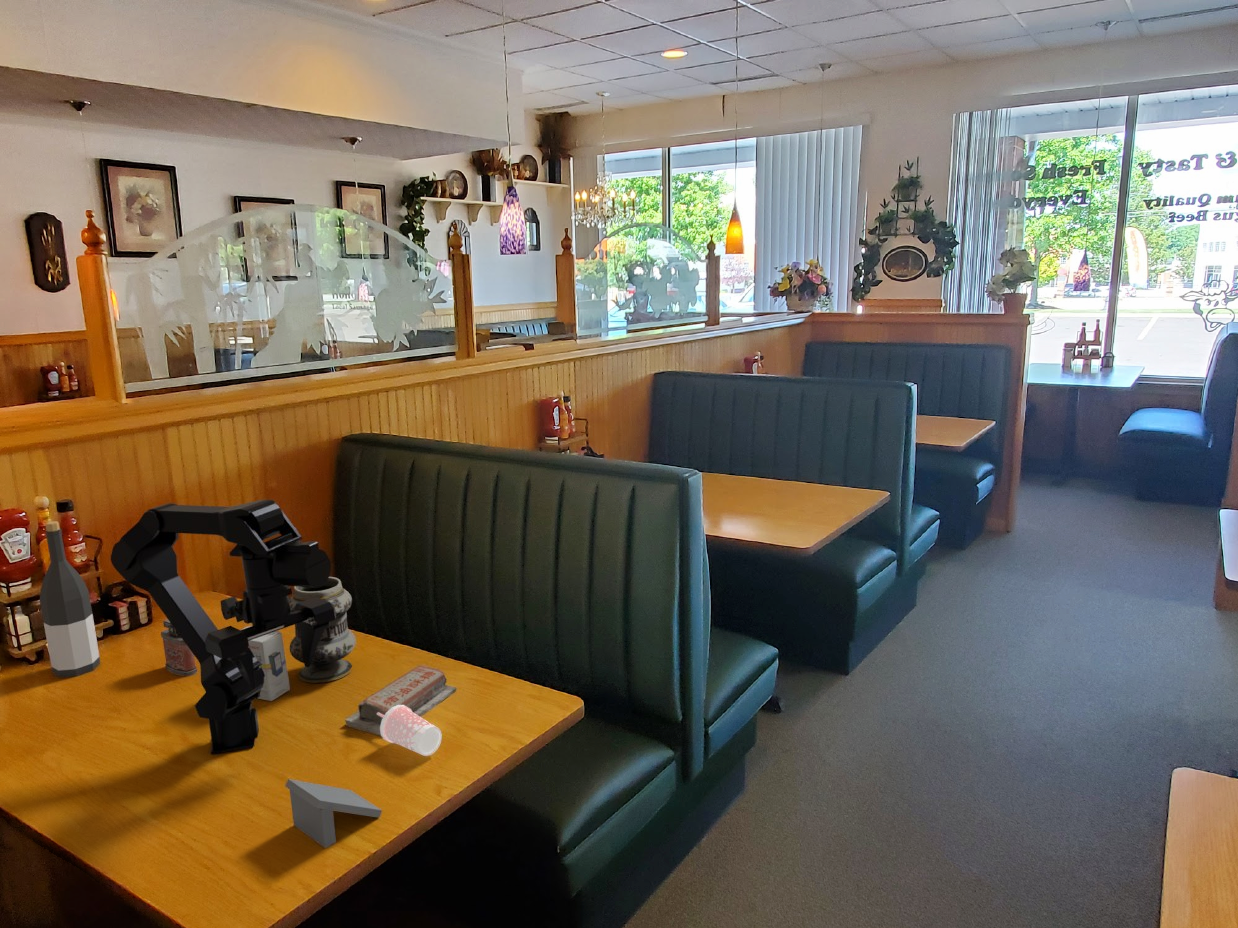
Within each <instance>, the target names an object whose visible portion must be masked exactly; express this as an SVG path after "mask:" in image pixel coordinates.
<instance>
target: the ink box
mask: <svg viewBox="0 0 1238 928" xmlns="http://www.w3.org/2000/svg"><path fill="white" fill-rule="evenodd" d="M251 626H252V625H248V626H245V627H244V628H242V629H245V628H248V627H251ZM242 629H240V630H242ZM248 642H249V646H248V647H249V648H250V649H251V651H252V653H253V655H254V656H255V658H256V659H257V660H258V661H259V662H261V663H262V665H261V666H260V667H261V668H262V670H263V671H264V674H265V677H264V684H263V687H262V689H261V692H260V697H258V698H257V700H258V699H259V700H264V701H269V702H272V701H274V700H276V699H278V698H279V697H281V696H282V695H284V694H285V693H287V692H288V691H290V690H291V687H290V686H291V685H290V680H289V674H288V667H287V660H286V653H285V648H284V647H285V646H284V641H283V634H282V632H280V631H279V630H278V631H275V632H272V633H269V634H266V635H264V636H261V637H258V638H255V639H252V640H250V641H248Z"/></svg>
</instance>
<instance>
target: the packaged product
mask: <svg viewBox="0 0 1238 928" xmlns="http://www.w3.org/2000/svg"><path fill="white" fill-rule="evenodd" d="M446 684H447V678H446V674H445V672H444V671H442V670H441V669H440V668H435V667H431V666H428V665H421V664H419V665H417V666H416V667H413V668H412V669H411V670H409V671H408V672H406V673H404V674H402V675H401V676H399V677H398V678H397V679H394V680H393V681H392V682H390V683H388V684H386V685H385V686H384V687H382V688H381V689H379V690H378V691H376V692H374V693H373V694H371V695H370V696H368V697H366V698H365V699H362V701H360V703H359V704H358V710H357V711H355V713H353V714H352V715H350V716H349V717H347V718H345V719H344V721H345V724H346V727H349V728H353V729H356V730H359V731H364V732H366V733H370V734H373V735H377V736H381V733H380V725H381V721H382V719H383V718H382V717H380V716H379V715H377V713H378V712H379V713H381V714H383V715H385V714H386V712H387V711H388V710H390V709H391V708H392V707H394V706H396V705H405V706H407V707H408V708H410V709H411V710H412V712H413V713H415V714H417V715H418V716H420V717H421V718H422V717H423V715H425V714H427V713H428V712H430V711H432V710H433V709H434V708H435V707H437V706H438V705H439V704H440V703H442V702H443V701H444V700H445V699H447V698H448V697H450V696H451V695H453V694H454V693H455V692H456V691H457V686H456V687H455V686H451V685H448V684H447V685H446ZM429 710H430V711H429ZM381 737H382V736H381Z"/></svg>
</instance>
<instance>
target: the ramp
mask: <svg viewBox="0 0 1238 928" xmlns="http://www.w3.org/2000/svg"><path fill="white" fill-rule="evenodd" d="M284 787H286V788H287V789H288V790H289V796H290V797H289V798H290V803H291V813H292V814H291V815H292V821H293V826H294V827H295V828H297V829H298V830H300V831H301V832H303V834H305V835H307V836H308V837H310V838H311V839H312V840H313V841H315V842H317V844H319V845H320V846H322V847H323V848H324V849H327V848H328V847H330V846H332V845H334V844H336V843H337V839H336V837H337V836H336V829H335V827H336V826H335V821H334V820H335V818H334V812H340V813H347V814H354V815H359V816H367V817H373V818H380V817H381V815H382V812H383V810H382V809H381V808H380V807H378V806H377V805H375V804H373V803H371V802H370V801H368V800H367V799H365V798H363V796H360V795H359V794H357V793H356V792H354V791H352V790H351V789H346V788H341V787H335V786H331V785H330V786H329V785H325V784H319V783H314V782H313V783H312V782H306V781H301V780H296V779H290V778H288V779H287V781H286V783H285V785H284Z"/></svg>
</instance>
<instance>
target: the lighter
mask: <svg viewBox="0 0 1238 928" xmlns="http://www.w3.org/2000/svg"><path fill="white" fill-rule="evenodd" d="M162 625H163V627H164V628H166V629H164V630H162V631H161V632H160V637H161V638H162V644H163V651H164V656H165V657H164V658H165V664H164V665H165V669H166V670H167V671H168V672H170V673H171V674H175V675H178V676H182V677H190V676H193V675H196V674H197V673H198V667H197V666H196V660H195V659H196V658H195V656H194V654H193V653H192V652H191V650H190V649H189V647H188V646H187V645H186V643H185V642H184V641H183V639H182V638H181V636H180V635H179V634H178V632H177V631H176V630H175V628H174V627H173V625H172V624H171V623H170V621H169V620H168V619H164V620H163V624H162Z"/></svg>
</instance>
